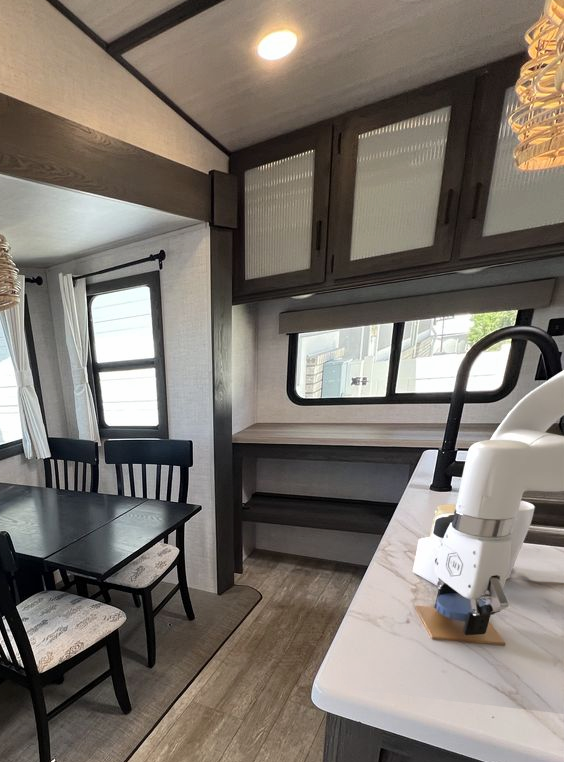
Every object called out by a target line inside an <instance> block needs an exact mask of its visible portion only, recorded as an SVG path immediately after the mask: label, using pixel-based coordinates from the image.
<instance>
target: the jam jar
mask: <svg viewBox="0 0 564 762" xmlns="http://www.w3.org/2000/svg"><path fill="white" fill-rule="evenodd" d="M455 508H456V504H450V503H449V504H447V503H446V504H441V505H439V506H437V507H436V510H435V511H434V514H433V519H432V523H431V527H430V528H431V529H430V534H429V537H432V533H433V528H434V523H435V519H436V517H438V516H440V515H443V514H454V512H455Z"/></svg>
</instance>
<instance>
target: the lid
mask: <svg viewBox="0 0 564 762" xmlns="http://www.w3.org/2000/svg"><path fill="white" fill-rule="evenodd" d="M436 598H437V597H436ZM435 603H436V609H437V611H438V612H439V613H441V614H442V615H444V616H446V617H448V618H451V619H454V620H458V621H464V622H465V621H466V617H467V614H468V612H471V603H470V599H467V598H465V597H463V596H462V595H461V594H459V593H447V594H442V595H440V596H439V597H438V598H437V600H436V599H435ZM484 605H485V600H484V599H479V606H480V607H481V606H484Z"/></svg>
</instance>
